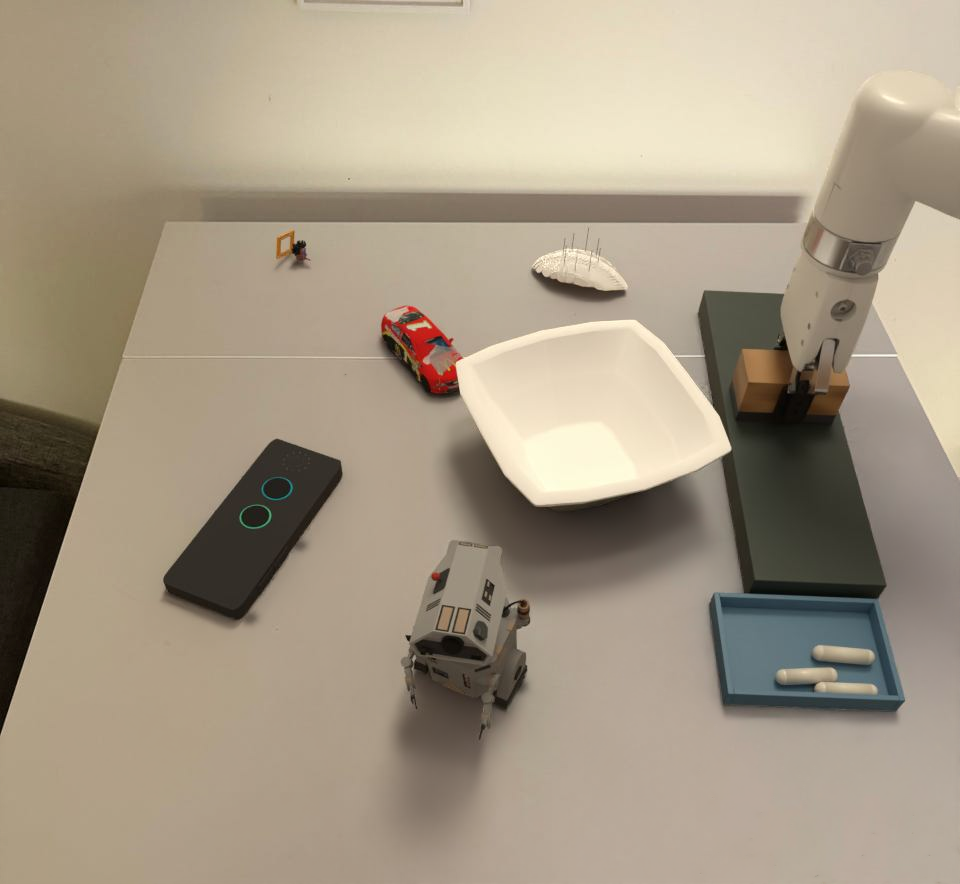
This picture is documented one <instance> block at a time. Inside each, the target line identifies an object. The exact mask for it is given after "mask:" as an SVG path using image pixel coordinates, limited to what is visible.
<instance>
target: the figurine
mask: <svg viewBox="0 0 960 884" xmlns="http://www.w3.org/2000/svg"><path fill="white" fill-rule="evenodd" d="M502 553H503V548H502V547H501V546H499V545H493V544H485V543H479V542H471V541H463V540H457V539H451V540H450V541H449V543H448V546H447V550H446V553H445V554H444V556H443V557H442V559H441V560H440V562H439V563H438V564H437V565H436V567H435V568H434V569H433V571H432V572H431V573H430V575H429V576H428V578H427V582H426V585H425V589H424V591H423V595H422V598H421V601H420V605H419V608H418V612H417V615H416V618H415V622H414V625H413V627H412V631H411V634H406V635H405V638H406V641H407V642H408V645H409V647H408V654H407V656H403V657H402V658H401V659H400V665H401V666H402V667H403V673H404V675H405V676H404V681H405V682H404V683H405V686H406V688H407V690H408V692H410V693H409V694H410V696H409V697H410V698H409V699H410V701H411V704H412V705H414V707H415V709H416V710H418V704H417V697H416V696H417V694H416V689H417V687H416V682H415V679H414V670H415V671H418V672H419V673H422V674H424V675H426V674H427V673H428V671H429V673H430V676H431V678H432V681H435V682H437V683H439V684H441V686H443V687H446V688H447V689H450V690H452V691H454V692H457V693H460V694H461V695H463V696H464V695H467V696H469V697H471V698H473V699H475V698H478V697H481V701H482V702H483V707H482V708H483V709H482V712H481V715H480V731H479V734H478V740H480V741H481V739H482V734H483V733H484V732H483V731H484V730H485V729H487V728H488V730H490V729H492V725H493V724H492V723H493V721H492V720H493V714H492V704H493V705H495V706H496V707H499V708H502V709H504V710H507V709H508V707H509V706H510V704H511V702H512V700H513V698H514V696H515V694H516V693H517V690H518V689H519V687H520V685H521V684H522V681H523V679H525V676H526V674H527V673H528V665H527V652H525V651H523V650H521V649H518V640H517V639H518V637H517V635H518V634H517V630H520V629H522V628H523V627H527V626H529V625H530V624H531V616H530V612H531V605H530V601H529V600H528V599H527V598H520V599H519V600H516V601H513V602H511V603H510V601H509V599H508V597H507V594H508V590H509V588H508V585H507V582H506V578H505V575H504V571H503V569H502V566H501V557H502ZM516 604H517V607H512V606H514V605H516ZM414 656H415V659H414ZM413 659H414V660H413ZM494 692H496V693H495V695H494V694H493V693H494Z"/></svg>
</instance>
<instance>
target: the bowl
mask: <svg viewBox="0 0 960 884" xmlns="http://www.w3.org/2000/svg"><path fill="white" fill-rule="evenodd" d="M463 358H464V359H461V360H459V361H457V362H456V370H457V376H458V382H459V388H460V389H459V394H460V397H461V399H462V400H463V403H464V405H465V407H466V408H467V410H468V412H469V414H470V416H471V418H472V420H473V421H474V424H475V425H476V427H477V429H478V431H479V433H480V435H481V437H482V438H483V441H484V442H485V444H486V446H487V448H488V449H489V451H490V453H491V454H492V456H493V458H494V460H495V461H496V464H497V465H498V467H499V468H500V470H501V472H502V473H503V475H504V477H505V478H506V479H507V480H508V481H509V482H510V483H511V484H512V485H513V486H514V487H515V488H516V489H517V490H518V492H520V493H521V495H523V496H524V498H526V500H528V501H529V503H530V504H531V505H532V506H534V507H536V508H537V507H538V508H544V507H545V508H546V507H547V508H550V509H551V510H552V511H554V512H568V511H569V512H571V511H581V510H584V509H590V508H593V507H599V506H604V505H606V504H609V503H612V502H614V501H617V500H619V499H622V498H625V497H628V496H630V495H632V494H636V493H641V492H645V491H648V490H650V489H654V488H656V487H658V486H661V485H664V484H667V483H669V482H672V481H675V480H677V479H679V478H682V477H685V476H687V475H691V474H693V473H696V472H698V471H700V470H702V469H703V468H705V467H707V466H708V465H710V464H712V463H715V462H716V461H717V460H719V459H722V457H723V456H725V455H726V454H728V453H729V452H730V451H731V445H730V443H729V440H728V437H727V435H726V432H725V430H724V427H723V424H722V422H721V419H720V416H719V415H718V414H717V412H716V411H715V409H714V406H713V405H712V404H711V403H710V401H709V400H708V399H707V397H706V396H705V394H704V393H703V392H702V390H701V389H700V388H699V386H698V385H697V384H696V382H695V381H694V379H693V378H692V376H691V375H690V374H689V373H688V372H687V370H686V369H685V368H684V367H683V365H682V364H681V363H680V361H679V360H678V359H677V358H676V356H675V354H673V352H672V351H671V350H670V348H669V347H668V346H667V345H666V343H665V342H664V341H663V340H661V339H660V338H659V337H657V336H656V335H655V334H654V333H652V332H651V331H650V330H649V329H648V328H646V327H645V326H644V325H642V324H641V322H639V321H638V320H636V319H620V320H619V319H618V320H617V319H616V320H605V321H604V320H603V321H602V320H601V321H590V322H584V323H578V324H571V325H566V326H561V327H553V328H548V329H541V330H539V331H535V332H532V333H528V334H525V335H521V336H519V337H515V338H512V339H508V340H506V341H502V342H499V343H495V344H492V345H490V346H488V347H486V348H483V349H481V350H479V351H477V352H474V353H472V354H471V355H467V356H466V357H463Z"/></svg>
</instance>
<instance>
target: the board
mask: <svg viewBox="0 0 960 884" xmlns="http://www.w3.org/2000/svg"><path fill="white" fill-rule="evenodd" d="M784 294H785V293H777V292H776V293H775V292H756V291H755V292H754V291H753V292H752V291H751V292H750V291H730V290H711V289H708V290H706V289H705V290H703V293H702V296H701V299H700V303H699V307H698V310H699V314H698V319H699V318H700V320H699V325H700V324H701V326H700V331H701V330H702V332H701V338H702V337H703V338H702V343H703V342H704V344H703V349H704V348H705V350H704V356H705V362H706V367H707V373H708V379H709V386H710V392H711V398H712V404H713V405H712V406H713V408H714V409H715V411H716V412H717V414H718V415H719V416H720V419H721V422H722V424H723V427H724V430H725V432H726V435H727V437H728V440H729V443H730V445H731V451H730V452H729V453H728V454H726V455H725V456H723V457H721V459H722V465H723V471H724V476H725V477H724V478H725V482H726V489H727V494H728V501H729V506H730V513H731V518H732V525H733V531H734V536H735V542H736V548H737V555H738V561H739V567H740V572H741V578H742V586H743V591H744V594H767V595H792V596H816V597H841V598H865V599H878V600H879V598H880V596H881V595H882V594H883V592H884V590H886V587H887V586H888V585H887V581H886V578H885V574H884V570H883V567H882V563H881V559H880V556H879V552H878V548H877V545H876V541H875V537H874V533H873V529H872V526H871V522H870V518H869V515H868V512H867V509H866V505H865V501H864V497H863V495H862V490H861V486H860V483H859V480H858V475H857V472H856V468H855V464H854V461H853V458H852V457H853V456H852V454H851V450H850V445H849V441H848V439H847V435H846V432H845V427H844V425H843V421H842V417H841V413H840V410H839V411H838V413H837V415H836V417H835V419H834V421H833V424H817V423H791V422H766V421H740V420H735V415H734V410H733V404H732V399H731V393H730V388H729V387H730V384H731V381H732V378H733V375H734V372H735V369H736V366H737V363H738V360H739V357H740V354H741V351H742V349H758V350H774V347H780V346H777V345H776V339H777V336H778V334H779V332H780V330H781V328H782V326H783V325H782V320H781V304H782V300H783V297H784Z"/></svg>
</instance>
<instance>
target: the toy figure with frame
mask: <svg viewBox="0 0 960 884" xmlns="http://www.w3.org/2000/svg"><path fill="white" fill-rule="evenodd" d="M295 233H296V232H295V229H292V230H290V231H287V232H285V233H283V234H281V235H278V236H276V252H275V253H276V254H275V259H276V260H279V259H281V258H283V257H285V256H287V255H289V254H292V255H294V256H295V259H296V261H297V262H298V263H304V261H305V260H307V261H311V259H310V258H307V256H308V253H307V242H306V241H305V240H303V239H299V240H297V241H296V242H295ZM287 238H289V248H288V249H286V250H283V251H282V252H281V250H282V249H281V248H282V241H283V240H286V239H287Z"/></svg>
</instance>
